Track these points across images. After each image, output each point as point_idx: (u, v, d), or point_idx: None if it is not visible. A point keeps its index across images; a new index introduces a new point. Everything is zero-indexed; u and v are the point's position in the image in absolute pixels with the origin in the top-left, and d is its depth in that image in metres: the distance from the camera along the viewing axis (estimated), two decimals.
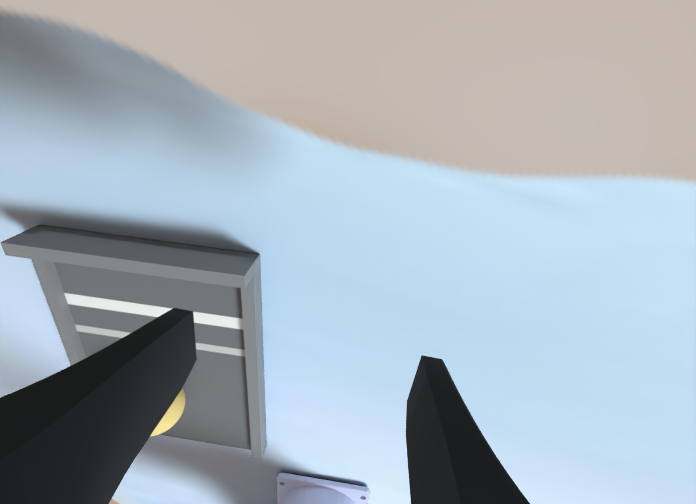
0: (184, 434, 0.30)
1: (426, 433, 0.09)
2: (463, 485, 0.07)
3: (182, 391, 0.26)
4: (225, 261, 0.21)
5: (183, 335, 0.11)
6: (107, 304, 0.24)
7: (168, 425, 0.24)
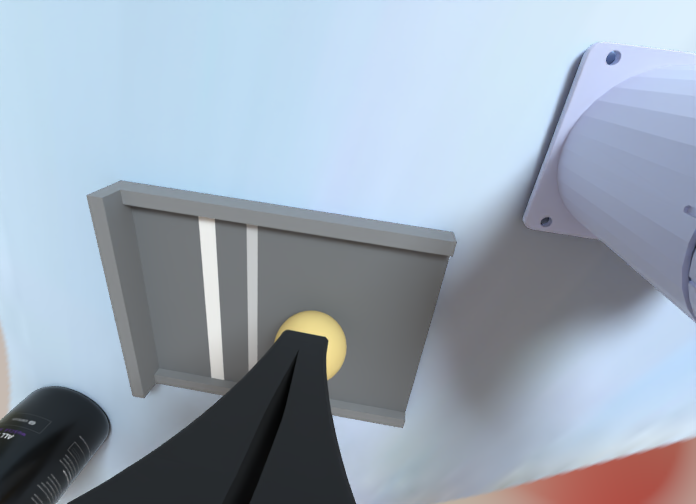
0: (417, 336, 0.22)
1: None
2: (279, 447, 0.07)
3: (305, 311, 0.20)
4: None
5: None
6: (215, 347, 0.24)
7: None
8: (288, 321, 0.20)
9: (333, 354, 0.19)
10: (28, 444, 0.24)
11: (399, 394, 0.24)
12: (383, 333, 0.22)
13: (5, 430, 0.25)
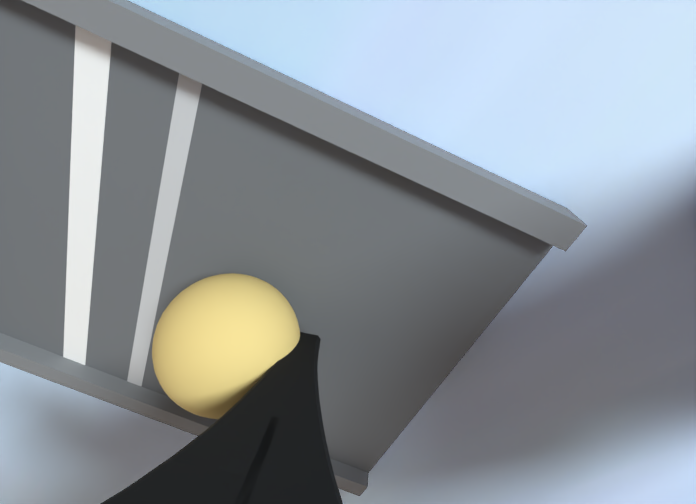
0: (432, 370, 0.13)
1: None
2: (267, 445, 0.07)
3: (244, 274, 0.11)
4: None
5: None
6: (77, 308, 0.13)
7: (232, 326, 0.09)
8: (203, 279, 0.10)
9: (257, 371, 0.09)
10: None
11: (369, 447, 0.15)
12: (378, 353, 0.13)
13: None
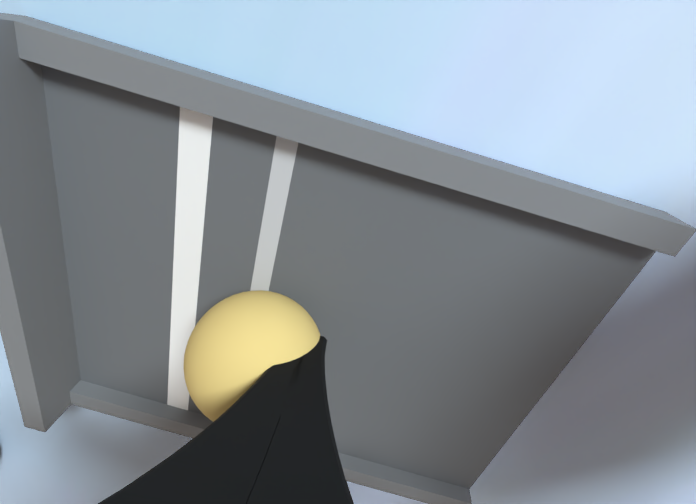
0: (533, 384, 0.13)
1: None
2: (277, 447, 0.07)
3: (302, 311, 0.11)
4: None
5: None
6: (180, 359, 0.14)
7: (221, 313, 0.10)
8: (279, 294, 0.11)
9: (199, 359, 0.09)
10: None
11: (469, 464, 0.15)
12: (477, 372, 0.13)
13: None
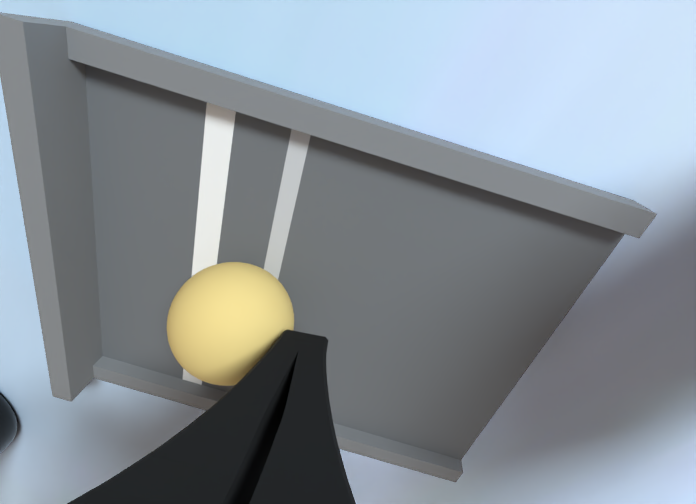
0: (518, 358, 0.14)
1: None
2: (279, 447, 0.07)
3: (271, 294, 0.11)
4: None
5: None
6: None
7: (208, 268, 0.12)
8: (273, 276, 0.12)
9: (176, 295, 0.11)
10: None
11: (461, 435, 0.16)
12: (467, 347, 0.14)
13: None
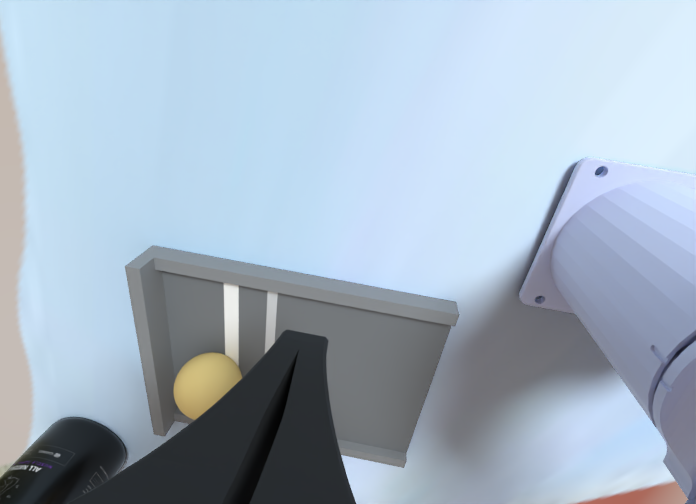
0: (419, 389, 0.23)
1: None
2: (279, 447, 0.07)
3: (197, 389, 0.21)
4: None
5: None
6: None
7: (212, 355, 0.22)
8: (218, 384, 0.21)
9: None
10: (55, 476, 0.26)
11: (401, 437, 0.26)
12: (389, 385, 0.24)
13: (33, 462, 0.27)
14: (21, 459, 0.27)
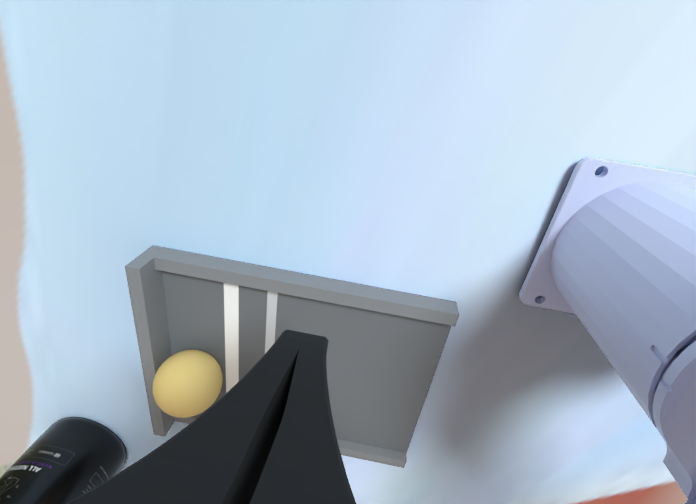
0: (419, 389, 0.23)
1: None
2: (279, 447, 0.07)
3: (162, 380, 0.21)
4: None
5: None
6: None
7: (196, 355, 0.22)
8: (178, 386, 0.21)
9: (201, 351, 0.24)
10: (55, 476, 0.26)
11: (401, 437, 0.26)
12: (389, 385, 0.24)
13: (33, 462, 0.27)
14: (21, 459, 0.27)
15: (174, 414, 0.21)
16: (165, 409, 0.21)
